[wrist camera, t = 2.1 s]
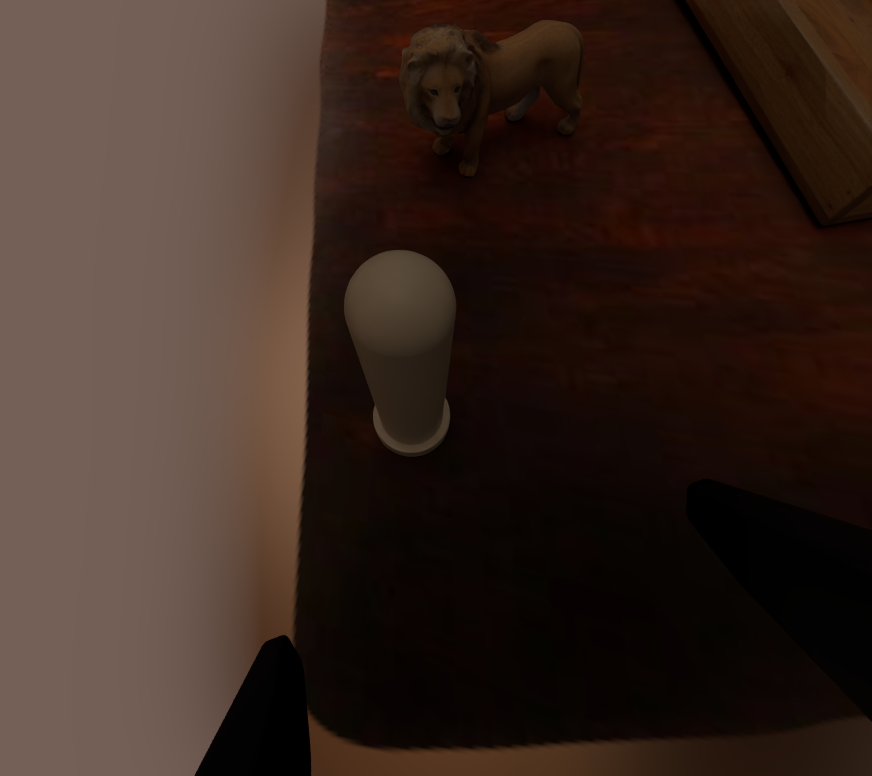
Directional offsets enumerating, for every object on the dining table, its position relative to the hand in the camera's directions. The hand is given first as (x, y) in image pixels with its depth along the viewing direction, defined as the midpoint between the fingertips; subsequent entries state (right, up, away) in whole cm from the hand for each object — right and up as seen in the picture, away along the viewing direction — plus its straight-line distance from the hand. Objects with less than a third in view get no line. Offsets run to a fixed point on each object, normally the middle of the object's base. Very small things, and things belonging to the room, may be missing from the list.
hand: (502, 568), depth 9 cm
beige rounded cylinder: (-3, +2, +15) cm, 15 cm away
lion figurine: (+2, +20, +22) cm, 30 cm away
